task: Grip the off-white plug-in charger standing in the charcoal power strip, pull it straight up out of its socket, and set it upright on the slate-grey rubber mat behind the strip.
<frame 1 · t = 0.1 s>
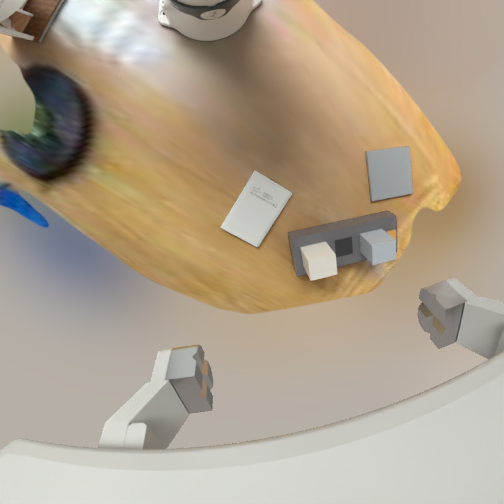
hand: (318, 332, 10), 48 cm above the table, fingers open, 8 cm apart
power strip: (342, 239, 62), on the table
external hard drive: (255, 208, 58), on the table
rubber mat: (389, 172, 56), on the table
charger: (312, 249, 60), point 2 cm above the table, touching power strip
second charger: (371, 240, 58), resting on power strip
display case: (38, 16, 37), on the table
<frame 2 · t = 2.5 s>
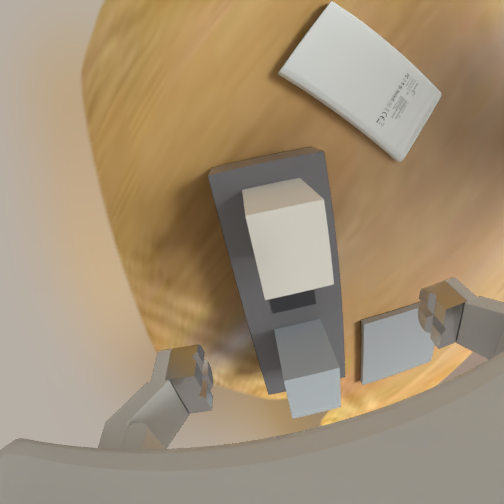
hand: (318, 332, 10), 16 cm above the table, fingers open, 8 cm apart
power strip: (286, 278, 28), on the table
external hard drive: (363, 81, 22), on the table
rubber mat: (399, 341, 32), on the table
charger: (274, 209, 23), point 2 cm above the table, touching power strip
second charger: (300, 345, 26), resting on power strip
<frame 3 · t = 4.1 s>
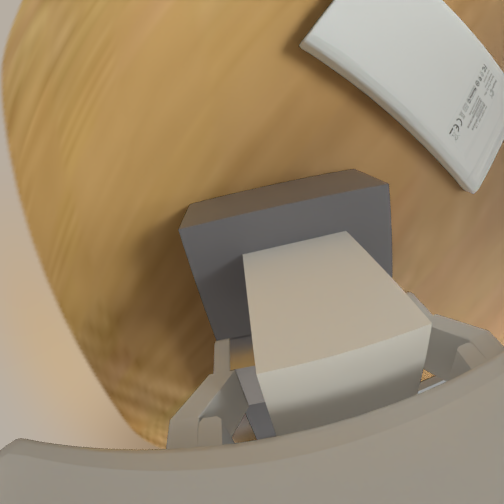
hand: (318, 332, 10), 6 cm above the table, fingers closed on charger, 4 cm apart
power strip: (305, 358, 19), on the table
external hard drive: (425, 69, 13), on the table
charger: (295, 275, 14), point 2 cm above the table, touching gripper, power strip
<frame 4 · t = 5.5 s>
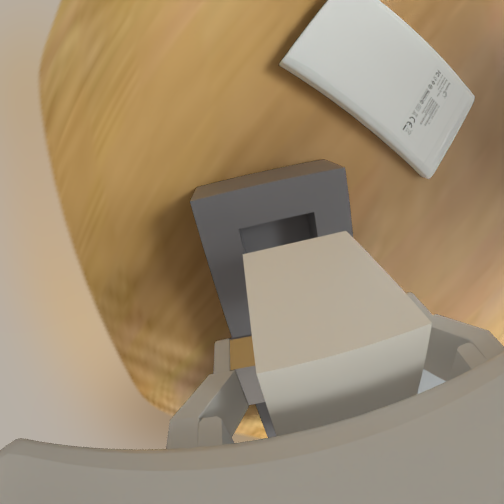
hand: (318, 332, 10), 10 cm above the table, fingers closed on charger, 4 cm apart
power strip: (290, 318, 23), on the table
external hard drive: (385, 77, 17), on the table
rubber mat: (414, 375, 27), on the table
charger: (295, 275, 14), point 6 cm above the table, touching gripper
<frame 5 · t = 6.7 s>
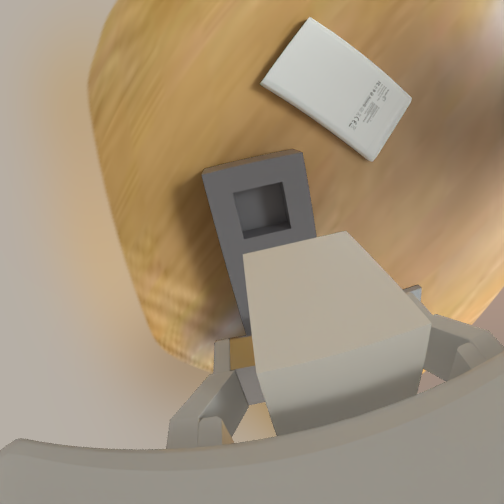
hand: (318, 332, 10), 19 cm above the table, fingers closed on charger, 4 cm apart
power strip: (272, 267, 31), on the table
external hard drive: (338, 89, 25), on the table
charger: (295, 275, 14), point 15 cm above the table, touching gripper
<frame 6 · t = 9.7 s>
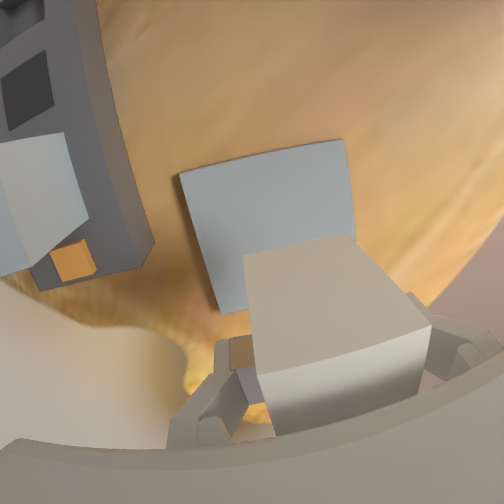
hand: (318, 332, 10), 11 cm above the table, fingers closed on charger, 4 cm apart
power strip: (58, 105, 15), on the table
rubber mat: (277, 228, 20), on the table
charger: (295, 276, 14), point 6 cm above the table, touching gripper
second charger: (48, 186, 14), resting on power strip
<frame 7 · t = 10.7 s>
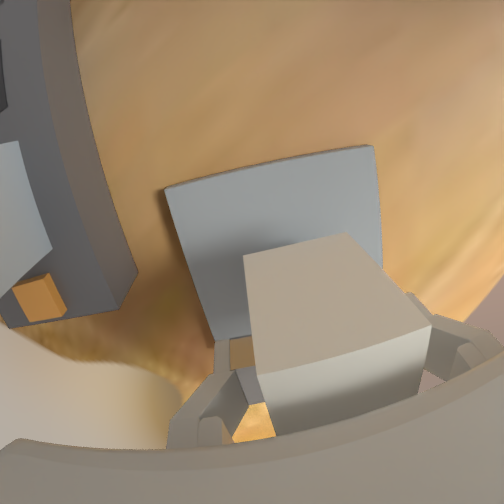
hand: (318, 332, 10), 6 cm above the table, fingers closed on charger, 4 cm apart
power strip: (22, 106, 12), on the table
rubber mat: (288, 256, 16), on the table
charger: (295, 276, 14), point 2 cm above the table, touching gripper
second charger: (4, 209, 10), resting on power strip
when the fingers open (6 cm above the table, at t = 11.0 s): charger stays where it is, resting on rubber mat.
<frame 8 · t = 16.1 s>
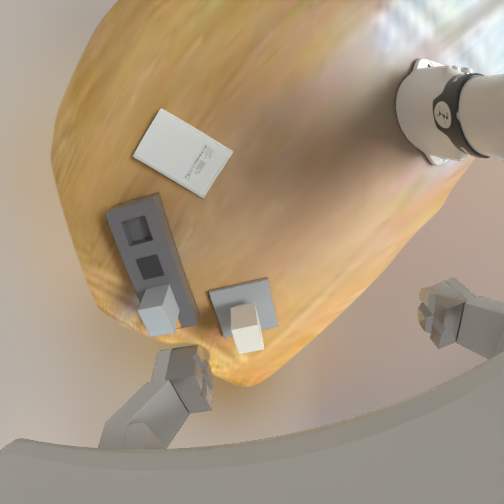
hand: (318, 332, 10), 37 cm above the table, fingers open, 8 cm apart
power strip: (156, 262, 49), on the table
external hard drive: (183, 152, 43), on the table
rubber mat: (244, 308, 54), on the table
charger: (245, 310, 53), point 1 cm above the table, touching rubber mat
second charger: (163, 299, 48), resting on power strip
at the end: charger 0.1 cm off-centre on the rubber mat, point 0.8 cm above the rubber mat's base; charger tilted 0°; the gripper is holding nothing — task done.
